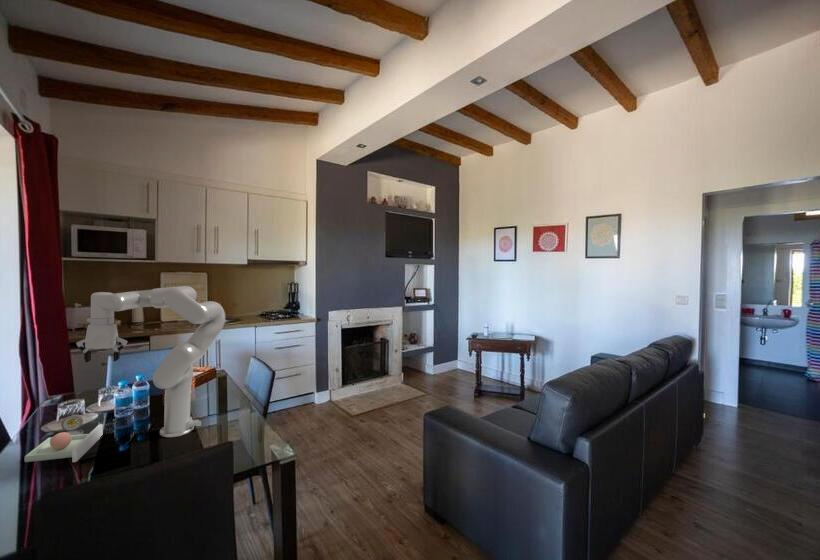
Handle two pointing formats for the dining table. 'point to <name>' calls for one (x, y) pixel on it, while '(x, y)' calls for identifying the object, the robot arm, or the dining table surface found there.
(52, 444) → the ball
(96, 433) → the wall
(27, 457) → the tray
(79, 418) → the pocket watch
